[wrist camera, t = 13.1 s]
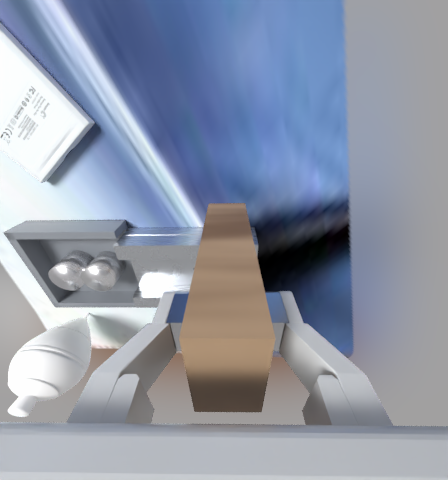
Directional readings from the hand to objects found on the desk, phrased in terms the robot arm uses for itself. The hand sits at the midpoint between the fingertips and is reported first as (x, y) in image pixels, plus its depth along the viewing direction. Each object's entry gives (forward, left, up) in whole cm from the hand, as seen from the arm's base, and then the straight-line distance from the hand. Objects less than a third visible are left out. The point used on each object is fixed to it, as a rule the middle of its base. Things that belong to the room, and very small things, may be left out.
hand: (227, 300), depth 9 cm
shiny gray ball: (+8, -17, -13) cm, 23 cm away
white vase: (+18, -21, -13) cm, 31 cm away
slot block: (+8, -4, -13) cm, 16 cm away
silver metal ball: (+8, -14, -13) cm, 20 cm away
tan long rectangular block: (0, 0, -7) cm, 7 cm away
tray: (+8, -17, -13) cm, 22 cm away
